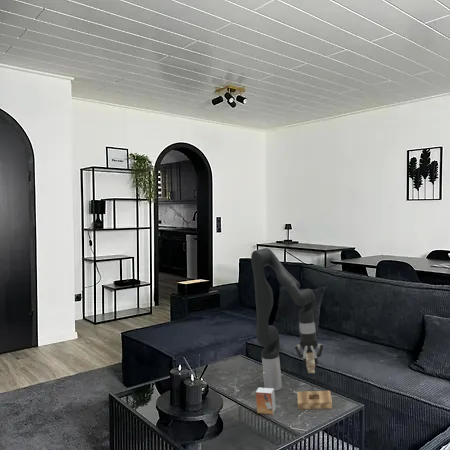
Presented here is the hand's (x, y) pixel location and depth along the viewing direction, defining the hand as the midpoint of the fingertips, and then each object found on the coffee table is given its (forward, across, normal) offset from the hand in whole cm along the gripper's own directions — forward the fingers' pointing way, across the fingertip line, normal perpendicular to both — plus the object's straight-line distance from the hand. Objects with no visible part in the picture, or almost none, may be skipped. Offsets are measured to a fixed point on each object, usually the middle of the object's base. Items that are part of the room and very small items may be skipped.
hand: (310, 365), depth 209 cm
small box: (+19, +23, +7) cm, 31 cm away
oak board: (+19, 0, 0) cm, 19 cm away
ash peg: (+3, 0, 0) cm, 3 cm away
